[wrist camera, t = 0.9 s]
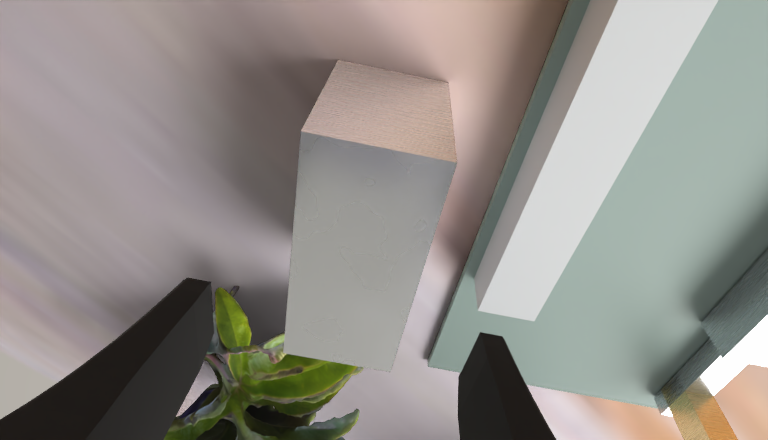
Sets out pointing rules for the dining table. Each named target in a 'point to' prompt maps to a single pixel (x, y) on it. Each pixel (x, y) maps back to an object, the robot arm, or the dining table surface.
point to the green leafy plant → (261, 388)
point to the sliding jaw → (720, 358)
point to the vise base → (623, 198)
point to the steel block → (366, 212)
